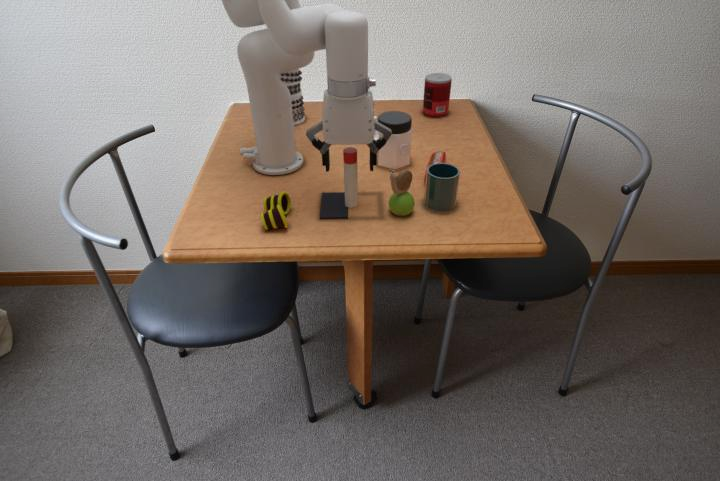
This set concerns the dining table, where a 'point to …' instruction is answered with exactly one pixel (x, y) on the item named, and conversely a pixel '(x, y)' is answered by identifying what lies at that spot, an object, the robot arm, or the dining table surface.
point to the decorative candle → (294, 94)
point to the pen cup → (441, 186)
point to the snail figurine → (401, 193)
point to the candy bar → (436, 159)
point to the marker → (350, 177)
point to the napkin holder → (375, 130)
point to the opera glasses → (276, 210)
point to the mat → (333, 206)
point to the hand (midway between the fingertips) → (349, 168)
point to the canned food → (436, 94)
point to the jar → (395, 140)
